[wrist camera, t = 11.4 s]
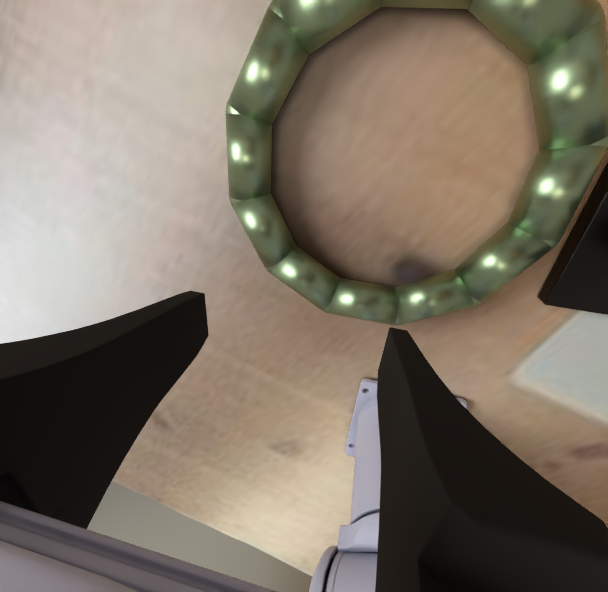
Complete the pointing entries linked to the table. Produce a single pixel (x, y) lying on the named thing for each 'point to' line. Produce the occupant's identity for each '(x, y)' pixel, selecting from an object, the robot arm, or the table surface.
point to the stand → (583, 260)
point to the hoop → (537, 188)
